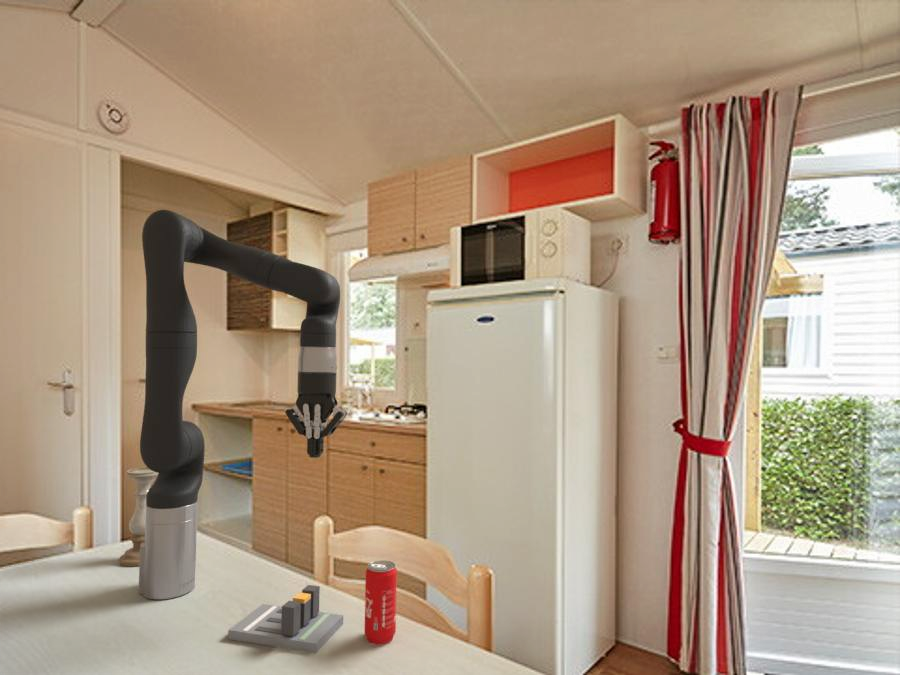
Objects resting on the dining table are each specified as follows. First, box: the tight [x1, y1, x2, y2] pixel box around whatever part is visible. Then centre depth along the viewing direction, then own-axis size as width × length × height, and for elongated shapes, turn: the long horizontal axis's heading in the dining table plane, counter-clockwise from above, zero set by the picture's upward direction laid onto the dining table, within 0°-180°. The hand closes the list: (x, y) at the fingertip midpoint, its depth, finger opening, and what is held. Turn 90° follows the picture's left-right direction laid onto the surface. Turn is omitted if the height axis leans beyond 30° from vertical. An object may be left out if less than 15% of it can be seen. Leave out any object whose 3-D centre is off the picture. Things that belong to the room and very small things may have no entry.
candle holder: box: [118, 466, 158, 567], centre depth 126 cm, size 9×9×20 cm
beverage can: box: [364, 560, 398, 646], centre depth 92 cm, size 5×5×12 cm
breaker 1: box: [281, 600, 301, 636], centre depth 90 cm, size 2×2×4 cm
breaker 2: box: [292, 592, 311, 627], centre depth 93 cm, size 2×2×4 cm
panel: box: [227, 603, 344, 654], centre depth 94 cm, size 16×10×2 cm, turn 76°
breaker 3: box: [301, 584, 321, 618], centre depth 97 cm, size 2×2×4 cm
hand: (315, 456), depth 109 cm, fingers closed
